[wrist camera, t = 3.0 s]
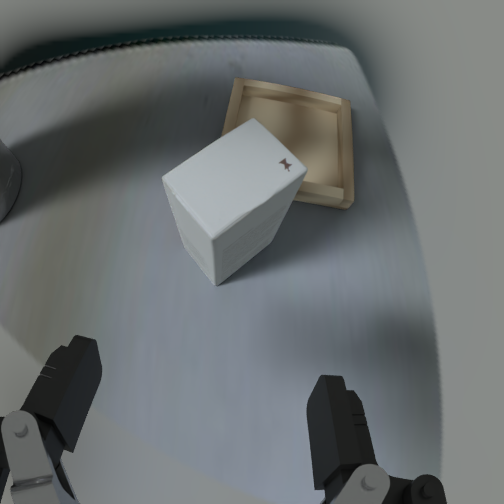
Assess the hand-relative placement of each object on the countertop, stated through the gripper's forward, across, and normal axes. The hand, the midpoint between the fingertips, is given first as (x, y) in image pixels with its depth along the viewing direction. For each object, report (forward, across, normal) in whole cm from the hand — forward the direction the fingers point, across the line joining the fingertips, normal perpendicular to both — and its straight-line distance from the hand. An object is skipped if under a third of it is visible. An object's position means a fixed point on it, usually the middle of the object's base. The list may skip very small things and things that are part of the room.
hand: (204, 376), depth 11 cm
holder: (+24, -4, -4) cm, 25 cm away
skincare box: (+16, 0, +3) cm, 17 cm away
